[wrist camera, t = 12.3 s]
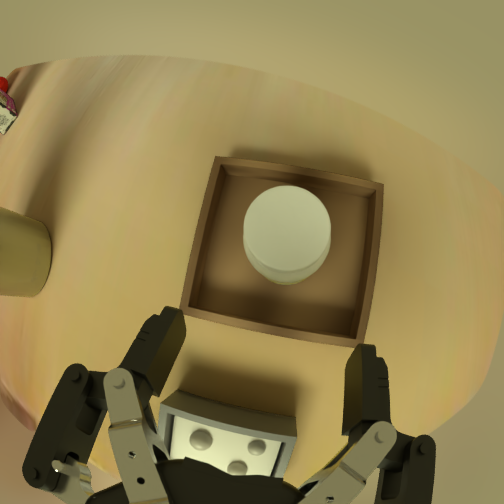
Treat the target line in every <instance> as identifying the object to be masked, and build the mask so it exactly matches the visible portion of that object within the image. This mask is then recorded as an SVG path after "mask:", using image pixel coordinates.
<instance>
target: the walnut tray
mask: <svg viewBox="0 0 504 504" xmlns="http://www.w3.org/2000/svg"><path fill="white" fill-rule="evenodd" d="M278 186H296V187H300V188H303V189H305V190H307V191H309V192H311V193H312V194H314V195H315V196H316V197H317V198H318V199H319V200H320V201H321V202H322V203H323V205H324V206H325V208H326V210H327V212H328V215H329V218H330V223H331V244H330V249H329V252H328V254H327V257H326V259H325V260H324V262H323V264H322V265H321V266H320V268H319V269H318V270H317V271H316V272H315V273H313V274H312V275H311V276H309V277H308V278H306V279H305V280H303V281H301V282H299V283H297V284H293V285H280V284H276V283H274V282H272V281H270V280H268V279H267V278H265V277H264V276H263V275H262V274H260V273H259V272H258V271H257V270H256V269H255V268H254V267H253V266H252V264H251V263H250V261H249V259H248V258H247V255H246V252H245V249H244V243H243V234H244V230H243V226H244V219H245V215H246V212H247V210H248V208H249V206H250V205H251V203H252V202H253V201H254V200H255V199H256V198H257V197H258V196H259V195H260V194H261V193H263V192H265V191H266V190H268V189H271V188H274V187H278ZM383 190H384V184H381V183H377V182H372V181H368V180H364V179H359V178H355V177H350V176H346V175H341V174H336V173H331V172H326V171H320V170H315V169H309V168H303V167H297V166H291V165H284V164H278V163H271V162H263V161H255V160H247V159H238V158H229V157H218V156H215V159H214V163H213V166H212V170H211V173H210V177H209V181H208V185H207V188H206V192H205V196H204V200H203V204H202V208H201V212H200V216H199V220H198V224H197V228H196V232H195V237H194V241H193V245H192V250H191V254H190V259H189V263H188V268H187V273H186V278H185V282H184V287H183V292H182V298H181V303H180V308H179V309H181V310H182V311H183V314H184V315H188V316H192V317H196V318H199V319H203V320H207V321H212V322H216V323H220V324H224V325H228V326H233V327H237V328H242V329H246V330H251V331H256V332H261V333H266V334H271V335H276V336H281V337H287V338H292V339H298V340H304V341H310V342H316V343H322V344H329V345H336V346H343V347H351V348H356V346H357V345H358V344H359V343H361V344H363V343H364V338H365V334H366V329H367V324H368V319H369V314H370V309H371V303H372V298H373V291H374V285H375V278H376V271H377V264H378V256H379V247H380V237H381V225H382V211H383Z"/></svg>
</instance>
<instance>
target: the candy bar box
mask: <svg viewBox="0 0 504 504" xmlns="http://www.w3.org/2000/svg"><path fill="white" fill-rule="evenodd" d="M16 118H17V112H16V109H15V104H14V100H13V99H12V98H11V97H10V96H9V95H7V94H6V93H5V92H4V91H2V90H1V89H0V133H2V134H3V135H4V134H5V133H6V131H7V130H8V129H9V127H10V126H11V125H12V123H13V122H14V121H15V119H16Z"/></svg>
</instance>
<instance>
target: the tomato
mask: <svg viewBox="0 0 504 504" xmlns="http://www.w3.org/2000/svg"><path fill="white" fill-rule="evenodd" d="M0 89H1V90H2V91H4V92H5V93H6V92H7V89H8V81H7V80H6V79H5V78H4V77H0Z"/></svg>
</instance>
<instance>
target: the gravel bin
mask: <svg viewBox="0 0 504 504" xmlns="http://www.w3.org/2000/svg"><path fill="white" fill-rule="evenodd" d="M158 432H159V434H160V437H161V439H162V440H163V442H164V444H165V447H166V449H167V452H168V454H169V457H170V459H184V458H185V456H186V457H189V458H192V459H195V460H198V461H202V462H205V463H209V464H211V465H212V466H214V467H216V468H218V469H220V470H222V471H224V472H226V473H228V474H231V475H265V476H271V477H279V478H283V476H284V473H285V471H286V468H287V465H288V462H289V460H290V457H291V454H292V451H293V448H294V445H295V442H296V439H297V429H296V417H290V416H284V415H278V414H272V413H267V412H262V411H257V410H252V409H247V408H243V407H238V406H234V405H230V404H226V403H222V402H218V401H214V400H211V399H207V398H204V397H200V396H197V395H194V394H190V393H187V392H184V391H181V390H178V389H177V390H176V391H175V392H174V393H172V394H171V395H170V396H169V397H168V398H166V399H165V400H164V401H163V402H161V403H160V411H159V421H158Z"/></svg>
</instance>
